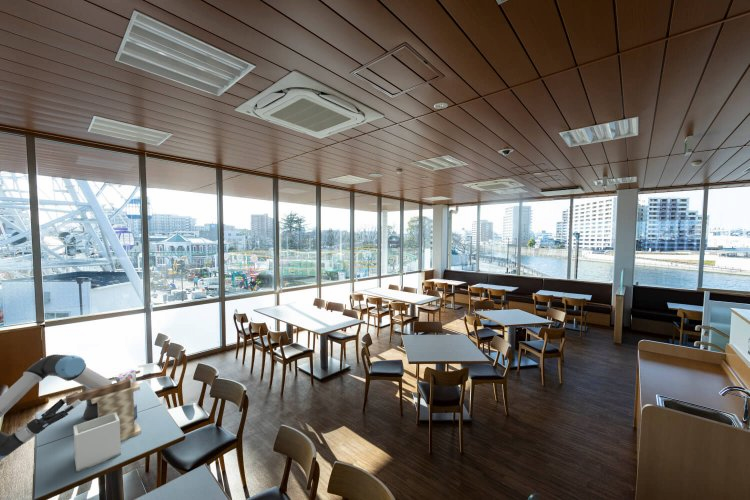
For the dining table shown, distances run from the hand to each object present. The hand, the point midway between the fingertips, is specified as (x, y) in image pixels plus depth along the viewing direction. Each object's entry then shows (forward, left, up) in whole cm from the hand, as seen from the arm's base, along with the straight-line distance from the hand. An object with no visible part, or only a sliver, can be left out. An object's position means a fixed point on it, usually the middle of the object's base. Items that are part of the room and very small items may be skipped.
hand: (79, 396), depth 174 cm
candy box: (-65, -24, -33) cm, 77 cm away
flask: (-29, +7, -33) cm, 45 cm away
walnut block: (-6, +6, -3) cm, 9 cm away
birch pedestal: (-11, +11, -33) cm, 36 cm away
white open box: (+5, +14, -33) cm, 36 cm away
